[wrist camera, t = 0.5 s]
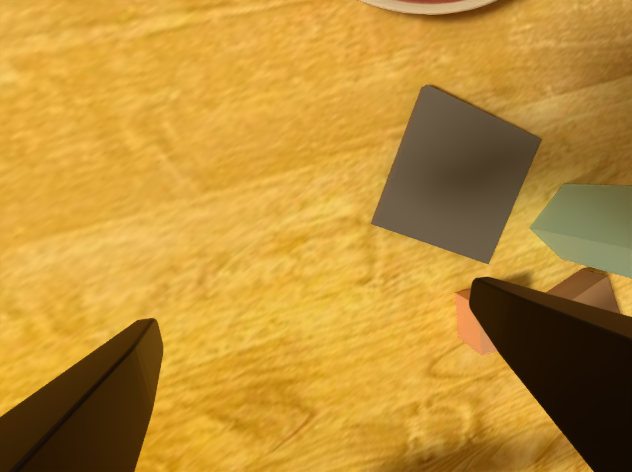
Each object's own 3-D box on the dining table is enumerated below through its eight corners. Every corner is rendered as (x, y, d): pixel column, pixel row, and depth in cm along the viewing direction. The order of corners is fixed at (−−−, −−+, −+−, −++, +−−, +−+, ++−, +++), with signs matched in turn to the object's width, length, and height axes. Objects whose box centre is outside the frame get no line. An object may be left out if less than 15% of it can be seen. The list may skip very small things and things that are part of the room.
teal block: (561, 258, 27) (728, 305, 18) (529, 228, 26) (689, 260, 17) (595, 216, 27) (783, 240, 17) (564, 183, 26) (747, 189, 16)
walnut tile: (599, 327, 30) (629, 341, 28) (538, 369, 30) (563, 386, 27) (577, 267, 28) (607, 276, 26) (512, 310, 28) (536, 323, 26)
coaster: (481, 261, 26) (488, 264, 25) (370, 223, 24) (374, 225, 23) (532, 140, 25) (541, 139, 24) (421, 87, 22) (427, 84, 22)
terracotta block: (527, 294, 24) (497, 280, 27) (478, 306, 23) (453, 291, 26) (528, 342, 25) (499, 324, 28) (481, 355, 24) (457, 335, 27)
